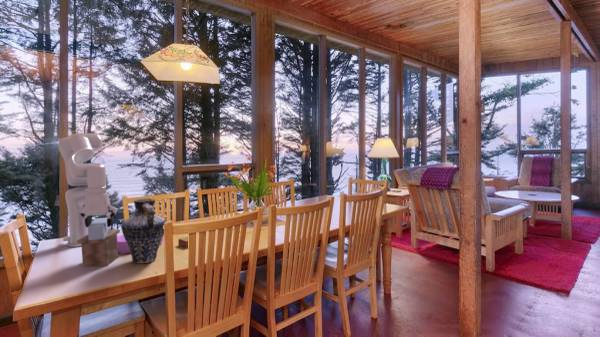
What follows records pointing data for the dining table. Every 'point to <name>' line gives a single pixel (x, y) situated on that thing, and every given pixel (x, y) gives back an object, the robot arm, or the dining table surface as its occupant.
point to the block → (98, 229)
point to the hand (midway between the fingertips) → (98, 226)
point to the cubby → (99, 249)
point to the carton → (183, 242)
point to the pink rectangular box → (124, 245)
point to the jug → (143, 231)
